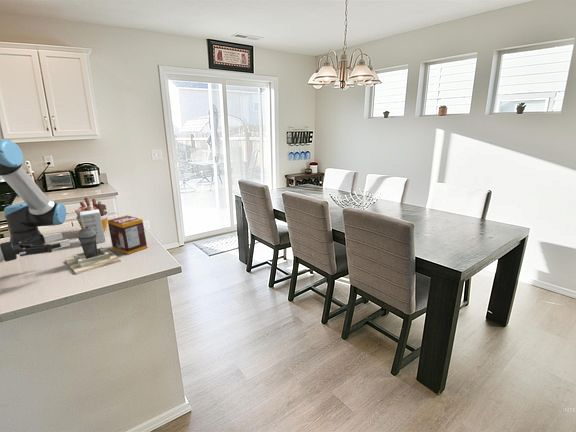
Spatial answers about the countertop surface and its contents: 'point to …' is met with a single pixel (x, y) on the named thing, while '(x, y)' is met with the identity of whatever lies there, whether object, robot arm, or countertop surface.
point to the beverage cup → (88, 241)
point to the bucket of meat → (95, 206)
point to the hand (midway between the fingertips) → (65, 238)
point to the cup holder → (91, 261)
